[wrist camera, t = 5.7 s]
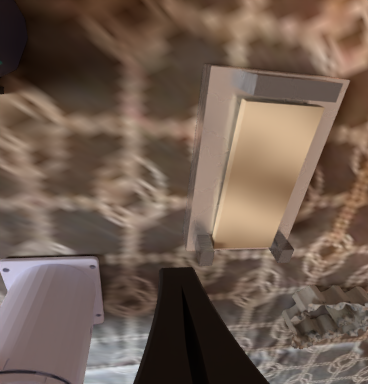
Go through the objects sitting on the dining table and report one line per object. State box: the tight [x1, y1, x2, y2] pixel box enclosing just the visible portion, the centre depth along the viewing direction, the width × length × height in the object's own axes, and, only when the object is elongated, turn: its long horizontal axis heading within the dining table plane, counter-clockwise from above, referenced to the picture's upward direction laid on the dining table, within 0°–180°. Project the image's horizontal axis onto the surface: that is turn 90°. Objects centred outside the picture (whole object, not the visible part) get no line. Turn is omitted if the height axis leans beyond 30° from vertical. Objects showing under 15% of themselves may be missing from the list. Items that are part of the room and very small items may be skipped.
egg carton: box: [282, 285, 368, 349], centre depth 30 cm, size 11×8×4 cm
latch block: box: [183, 64, 350, 266], centre depth 18 cm, size 14×9×4 cm, turn 175°
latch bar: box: [211, 98, 325, 249], centre depth 18 cm, size 12×5×1 cm, turn 175°
